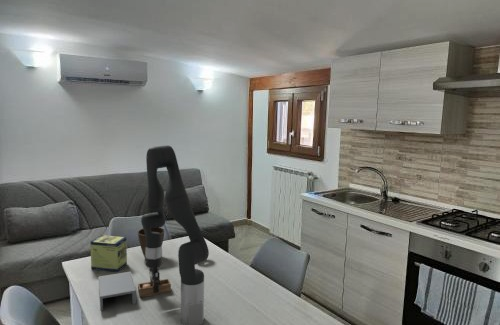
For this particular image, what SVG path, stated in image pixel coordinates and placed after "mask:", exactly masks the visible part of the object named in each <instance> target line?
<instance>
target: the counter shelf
mask: <svg viewBox="0 0 500 325" xmlns="http://www.w3.org/2000/svg"><path fill="white" fill-rule="evenodd" d="M135 285H136V284H135V281H134V278H133V275H132V271H125V272H119V273H113V274H106V275H101V276H98V293H99V294H98V295H99V296H98V297H99V309H100V312H103V311H104V304H103V302H104V300H103V299H107V298H113V297H118V296H124V295H129V294H131V298H132V299H131V300H132V302H131V303H132V305H134V304H137V288H136V286H135Z"/></svg>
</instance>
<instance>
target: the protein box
mask: <svg viewBox="0 0 500 325" xmlns="http://www.w3.org/2000/svg"><path fill="white" fill-rule="evenodd" d="M127 247H128V246H127V237H126V236H114V235H103V234H101V235H100V236H98V237H97V238H95V239H93V240H91V241H90V269H91V270H97V271H107V272H115V273H117V272H119V271H120V270H121V269H123V268H125V266H126V265H128V256H127V255H128V251H127V250H128V248H127Z"/></svg>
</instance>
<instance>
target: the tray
mask: <svg viewBox="0 0 500 325" xmlns="http://www.w3.org/2000/svg"><path fill="white" fill-rule="evenodd" d="M156 282H157V281H155V283H156ZM144 284H150V287H147V288H143V285H144ZM158 286H159V292H158V293H154V292H153V281H152V282H150V281H148V282H142V283H138V284H137V289H138V290H137V293H138V296H139V298H145V297H151V296H155V295H160V294H166V293H170V292H172V288H171V286H172V283H171V281H170V279H169V278H165V279H160V285H158Z"/></svg>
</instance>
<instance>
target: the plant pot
mask: <svg viewBox="0 0 500 325" xmlns="http://www.w3.org/2000/svg"><path fill="white" fill-rule="evenodd" d="M151 232H159V233H160V234H161V236H162V244H163V242H164V237H165V232H166V231H165V229H164V228H162V227H160V228H153V229H151ZM137 237H138V242H139V246H140V249H141V252H142V255H143V256H144V258H145V250H146V237H145V232H144V229H143V228H141V229H138V231H137Z"/></svg>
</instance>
